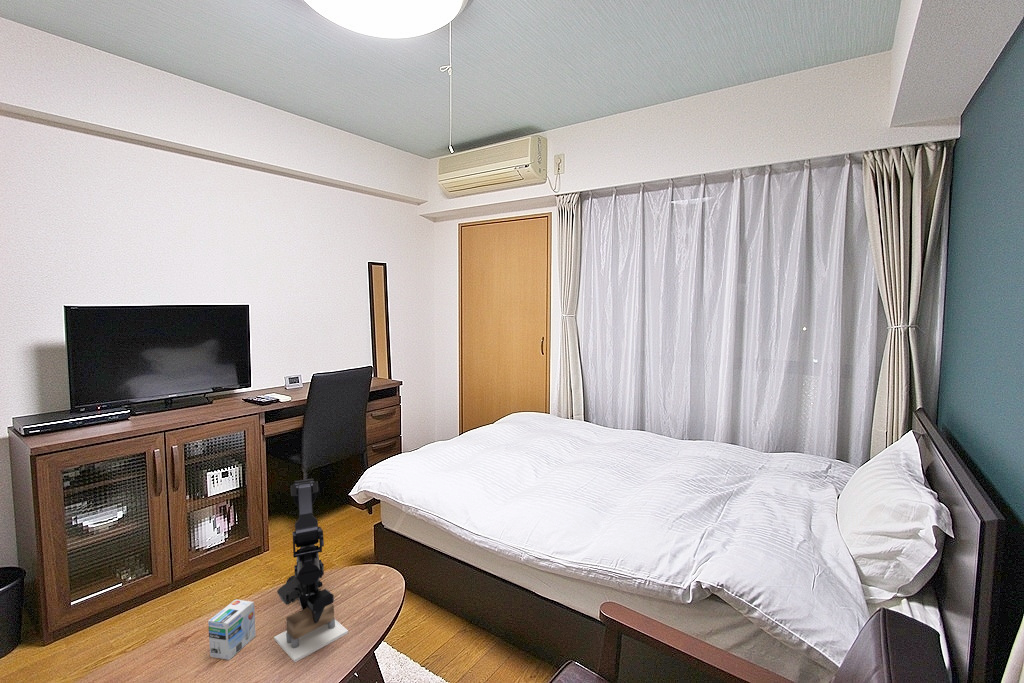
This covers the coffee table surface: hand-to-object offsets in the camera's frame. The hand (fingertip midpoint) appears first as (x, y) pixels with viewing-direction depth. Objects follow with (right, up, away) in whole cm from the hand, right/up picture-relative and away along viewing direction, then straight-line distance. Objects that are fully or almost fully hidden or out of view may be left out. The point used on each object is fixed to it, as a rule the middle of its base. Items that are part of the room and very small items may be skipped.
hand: (310, 617), depth 143 cm
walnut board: (0, -3, 0) cm, 2 cm away
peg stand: (0, -6, 0) cm, 6 cm away
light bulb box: (-21, -7, -3) cm, 22 cm away
